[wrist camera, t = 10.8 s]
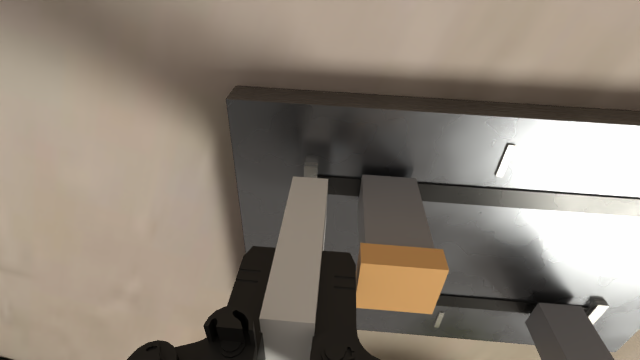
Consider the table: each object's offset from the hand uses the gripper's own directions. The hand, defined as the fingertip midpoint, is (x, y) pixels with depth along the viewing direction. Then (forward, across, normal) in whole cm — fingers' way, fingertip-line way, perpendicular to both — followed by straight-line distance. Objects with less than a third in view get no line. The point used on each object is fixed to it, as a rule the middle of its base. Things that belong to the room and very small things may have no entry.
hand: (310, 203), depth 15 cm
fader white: (+1, +14, -8) cm, 17 cm away
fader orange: (+1, +3, 0) cm, 4 cm away
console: (+3, +8, -4) cm, 10 cm away
